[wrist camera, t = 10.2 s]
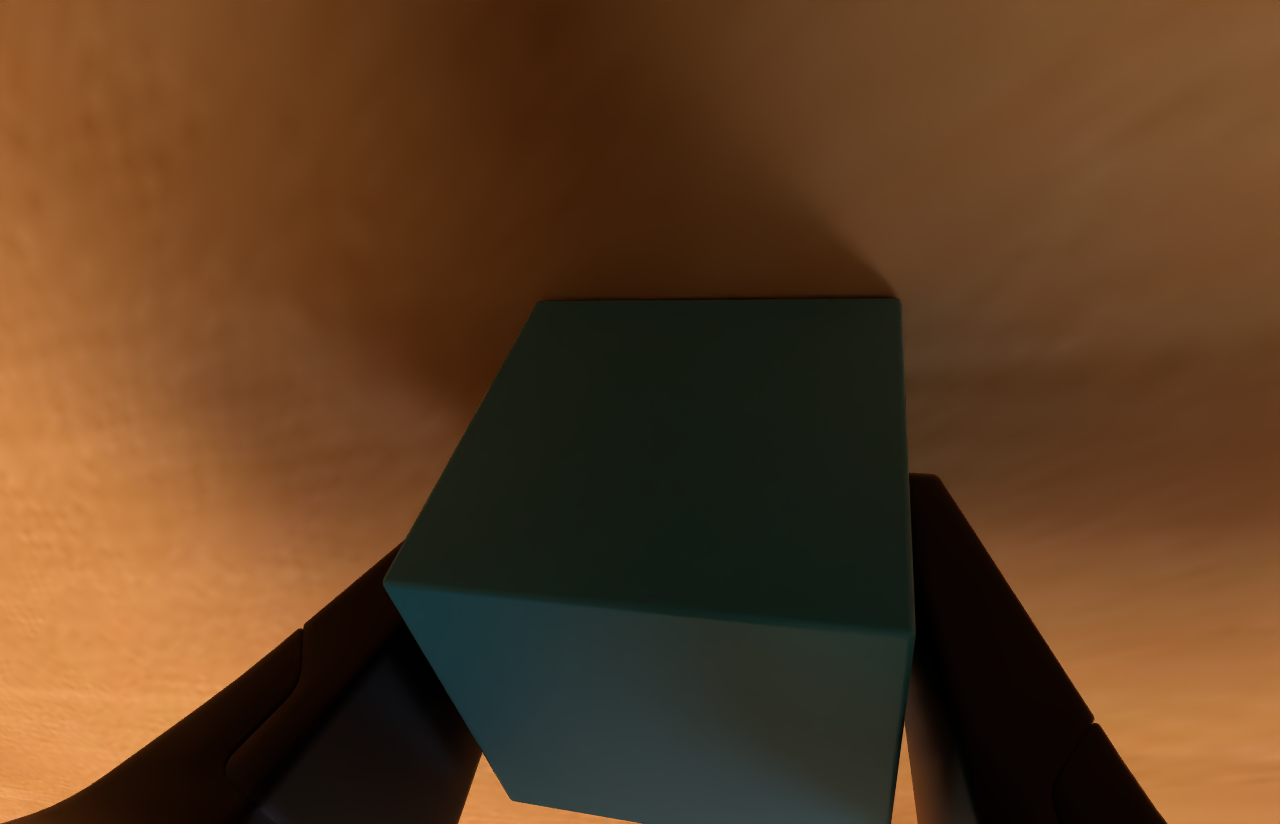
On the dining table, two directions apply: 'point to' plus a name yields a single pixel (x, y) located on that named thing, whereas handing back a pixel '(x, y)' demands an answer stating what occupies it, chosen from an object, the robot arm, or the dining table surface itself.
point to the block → (680, 562)
